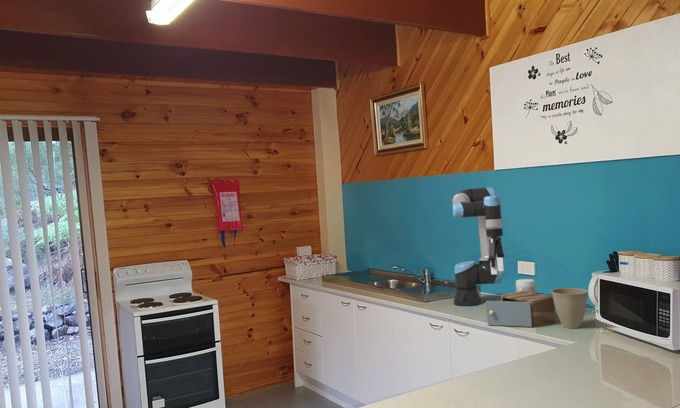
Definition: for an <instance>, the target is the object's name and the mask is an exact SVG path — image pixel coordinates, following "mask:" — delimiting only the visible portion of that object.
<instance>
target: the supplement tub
mask: <svg viewBox="0 0 680 408" xmlns="http://www.w3.org/2000/svg"><path fill="white" fill-rule="evenodd" d="M519 291H526V292H532V293H537V292H536V291H537V288H536V282H535V280H534V279H533V278H521V279H517V280H515V292H519Z"/></svg>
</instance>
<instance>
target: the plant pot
mask: <svg viewBox="0 0 680 408" xmlns="http://www.w3.org/2000/svg"><path fill="white" fill-rule="evenodd" d="M588 292H589V291H588V290H587V289H584V288H575V287H573V288H572V287H562V288H555V289H552V290H551V296H553V301H554V304H555V311H556V313H557V314H556V315H557V316H558V319H559V321H560V323H561V325H562V327H563V328H566V329H579V328H581V326H582V323H583V321H584V316H585V313H586V308H587V304H588V303H587V302H588V295H589V294H588Z"/></svg>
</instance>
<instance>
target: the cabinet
mask: <svg viewBox="0 0 680 408" xmlns="http://www.w3.org/2000/svg"><path fill="white" fill-rule="evenodd" d="M500 301H512V302H530V304H531V317H532V328H537V327H540V326H545V325H549V324H553V323H557V314H556V313H557V311H556V308H555V304H554V301H553V296H552V294H551V295H550V294H543V293H539V292H538V293H537V292H536V293H532V292H526V291H519V292H516V291H514V292H509V293H505V294H501V295H500Z"/></svg>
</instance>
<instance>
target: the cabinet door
mask: <svg viewBox="0 0 680 408" xmlns="http://www.w3.org/2000/svg"><path fill="white" fill-rule="evenodd" d="M485 306H486V319H487V320H486V321H487V325H488V326H506V327H508V326H510V327H528V328H531V327H532V317H531V304H530V302H512V301H501V300H486V301H485ZM532 328H533V327H532Z"/></svg>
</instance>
